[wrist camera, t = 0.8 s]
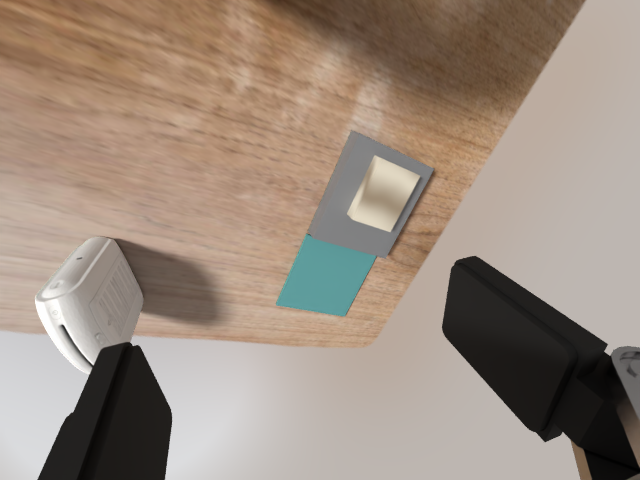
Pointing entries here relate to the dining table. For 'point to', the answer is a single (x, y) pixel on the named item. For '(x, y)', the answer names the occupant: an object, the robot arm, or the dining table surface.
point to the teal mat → (324, 277)
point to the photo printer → (90, 302)
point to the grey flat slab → (342, 191)
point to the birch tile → (382, 194)
